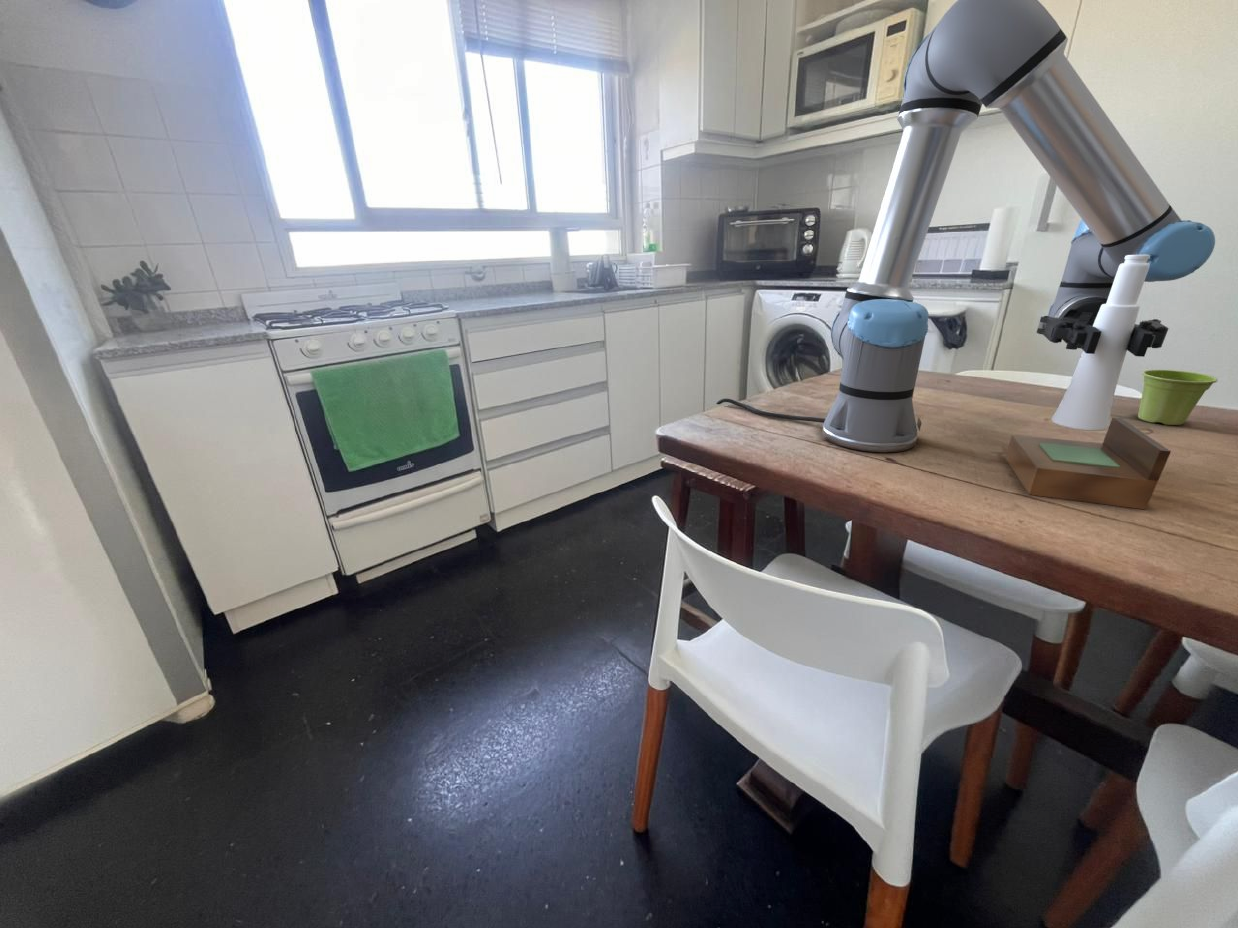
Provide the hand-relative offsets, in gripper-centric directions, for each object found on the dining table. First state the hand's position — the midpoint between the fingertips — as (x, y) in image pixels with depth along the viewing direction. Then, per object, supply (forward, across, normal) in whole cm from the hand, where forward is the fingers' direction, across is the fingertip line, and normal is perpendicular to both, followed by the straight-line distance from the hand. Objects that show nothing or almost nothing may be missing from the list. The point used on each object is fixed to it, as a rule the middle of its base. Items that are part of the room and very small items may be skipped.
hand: (1118, 344), depth 60 cm
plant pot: (-45, -18, -20) cm, 52 cm away
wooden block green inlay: (-4, 0, -20) cm, 20 cm away
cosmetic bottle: (-5, 0, -12) cm, 13 cm away
